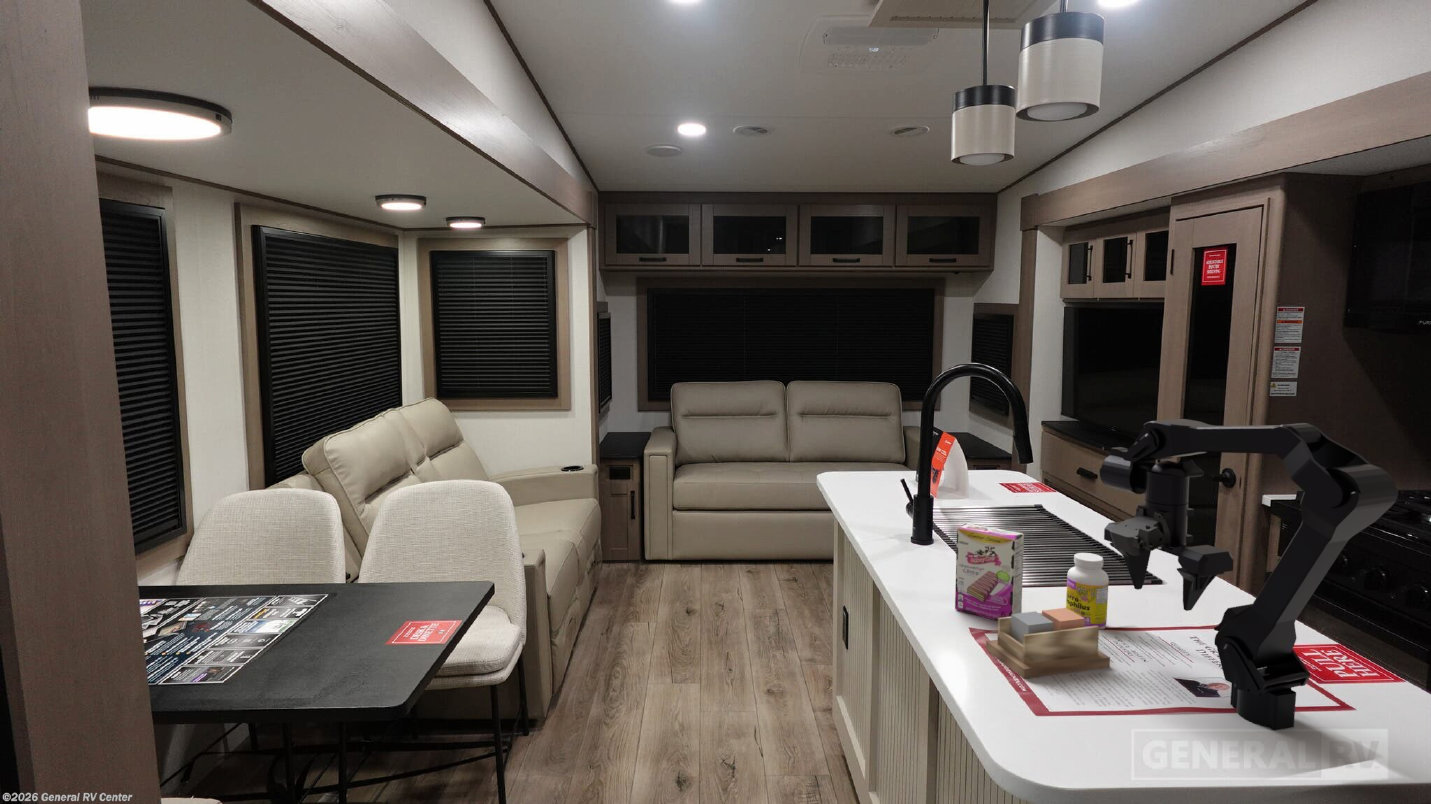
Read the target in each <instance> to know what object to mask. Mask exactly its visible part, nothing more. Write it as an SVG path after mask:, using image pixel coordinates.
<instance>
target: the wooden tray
mask: <svg viewBox="0 0 1431 804" xmlns="http://www.w3.org/2000/svg"><path fill="white" fill-rule="evenodd" d="M1038 613H1039V614H1041V615H1042V612H1038ZM1099 632H1100V630H1099V627H1098V626H1089V627H1081V628H1073V629H1065V630H1057V631H1049V632H1041V633H1033V634H1025V635H1023V645H1022V644H1021V643H1019V642H1018V641H1016V640H1015V639H1014V638H1012V637H1011V617H1002V618H998V621H997V640H998V645H999V646H1000V647H1002V648H1003V649H1004V650H1006V651H1007V652H1008V653H1010V654H1011V655H1012V656H1014V657H1015V658H1017V659H1018V660H1019V661H1021V662H1022V663H1023V664H1029V663H1037V662H1044V661H1051V660H1059V659H1066V658H1074V657H1081V656H1089V655H1096V654H1098V651H1099V635H1100V634H1099Z"/></svg>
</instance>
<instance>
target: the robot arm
mask: <svg viewBox="0 0 1431 804" xmlns="http://www.w3.org/2000/svg"><path fill="white" fill-rule="evenodd" d="M1206 453H1221V454H1223V453H1225V454H1226V453H1227V454H1228V453H1229V454H1258V455H1259V454H1261V455H1262V454H1263V455H1264V454H1266V455H1267V454H1268V455H1276V456H1277V457H1278V458H1279V459H1281V460H1282V462H1283V465H1284V466H1285V470H1286V471H1287V474H1288V475H1289V478H1290V479H1291V481H1293V483H1295V484H1296V485H1297V487H1299V488H1300V489H1301V490H1302V491H1303V494H1302V497H1301V500H1300V510H1301V511H1300V512H1301V519H1302V521H1301V523H1300V526H1299V527H1298V529H1297V530H1296V532H1295V534H1294V536H1293V537H1292V539H1291V541H1290V542H1289V543H1288V545H1287V547H1286V549H1285V550H1284V552H1283V553H1282V556H1281V557H1280V559H1278V562H1277V563H1276V565H1275V566H1274V569H1273V570H1272V571H1271V574H1270V575H1269V577H1268V578H1267V580H1266V581H1265V583H1264V584H1263V586H1262V588H1261V589H1260V591H1259V592H1258V594H1257V596H1256V598H1255V599H1254V600H1253V603H1249V604H1244V605H1243V604H1242V605H1236V606H1231V607H1227V609H1226V610H1225V612H1224V613H1223V615H1222V619H1221V621H1220V622H1219V624H1218V625H1216V626H1214V627H1213V630H1214V631H1216V632H1217V633H1216V634H1215V637H1214V645H1215V647H1216V649H1217V654H1218V657H1219V661H1220V665H1221V669H1222V672H1223V676H1224V677H1223V678H1224V680H1225V681H1227V682H1228V683H1230V684H1231V687H1230V690H1231V691H1230V701H1229V702H1230V706H1232V708H1234V709H1235V710H1236V713H1237V714H1238V715H1239V716H1240V717H1241V718H1243V719H1244V720H1246V721H1248V722H1249V723H1252V724H1254V725H1258V726H1260V727H1261V726H1262V727H1264V728H1268V729H1270V730H1272V731H1281V730H1286V729H1292V728H1294V726H1295V717H1296V716H1295V715H1296V701H1297V692H1296V691H1295V690H1292V688H1297V687H1304V686H1306V684H1307V683H1308V681H1309V679H1310V678H1311V676H1312V675H1311V672H1310V670H1309V669H1308V668H1307V667H1306V665H1305V664H1304V662H1303V661H1302V660H1301V659H1300V657H1299V655H1298V654H1297V653H1296V651H1295V650H1294V646H1295V643H1296V642H1297V631H1296V625H1295V623H1296V620H1297V619H1298V617H1299V616H1300V614H1301V613H1302V611H1303V610H1304V608H1305V606H1306V605H1307V604H1308V602H1309V600H1310V599H1311V598H1312V596H1313V595H1314V593H1315V592H1316V590H1317V589H1318V587H1319V585H1320V584H1321V582H1322V581H1323V579H1324V578H1325V576H1327V574H1328V572H1329V570H1331V567H1332V566H1333V564H1334V563H1335V561H1336V560H1337V558H1338V557H1339V555H1340V554H1341V552H1342V551H1343V549H1344V548H1345V546H1346V544H1347V543H1348V542H1349V540H1350V539H1352V538H1353V537H1354V536H1356V535H1357V534H1359V533H1360V532H1362V531H1364V530H1365V529H1366V528H1367V527H1369V526H1370V525H1372V524H1374V523H1375V522H1377V520H1378V519H1379V520H1380V518H1381V517H1382V516H1383V515H1384V514H1385V513H1386V512H1387V511H1389V509H1390V508H1392V506H1394V504H1395V503H1396V502H1397V499H1398V496H1399V488H1398V487H1397V486H1396V483H1395V480H1394V479H1393V477H1392V476H1391V475H1390V473H1389V472H1387V470H1385V469H1383V468H1382V467H1379V466H1376V465H1374V464H1371V462H1370V461H1368V459H1366V458H1365V457H1364V456H1362V455H1361V454H1360V453H1358V452H1356V451H1354V450H1352V449H1351V448H1349V447H1348V446H1347V447H1346V446H1345V445H1343V444H1341V443H1340V442H1338V441H1336V440H1333V438H1331V437H1329V436H1328V435H1326V433H1324V432H1323V431H1322V429H1320V428H1318V427H1317V426H1315V425H1313V424H1311V423H1305V422H1301V423H1300V422H1299V423H1289V424H1288V423H1287V424H1279V425H1278V424H1276V425H1275V424H1274V425H1271V424H1270V425H1266V424H1265V425H1259V424H1258V425H1213V424H1208V423H1205V422H1203V421H1199V420H1193V419H1188V418H1175V419H1174V418H1173V419H1161V420H1159V419H1158V420H1151V421H1149V420H1148V421H1147V422H1145V423H1144V424H1143V426H1142V428H1141V429H1140V432H1139V434H1138V436H1137V437H1136V439H1135V440H1134V441H1133V443H1132V444H1131V445H1130V447H1128V448H1126V447H1121V446H1118V447H1111V448H1110V455H1108V456H1106V457H1105V459H1103V462H1102V464H1101V467H1100V468H1099V478H1100V481H1101V482H1102V484H1104V485H1105V486H1106V487H1109V488H1112V489H1115V490H1119V491H1124V492H1128V493H1132V494H1136V495H1143V494H1144V501H1143V502H1144V504H1138V505H1137V507H1136V508H1135V515H1134V517H1130V518H1127V519H1124V520H1123V521H1112V522H1108V524H1107V525H1106V526H1105V527H1104V531H1103V540H1105V541H1108V542H1109V545H1110V546H1111V547H1112V548H1114V549H1115V550H1116V551H1118V553H1119V554H1121V555H1122V557H1123V559H1124V562H1125V565H1126V567H1127V570H1128V574H1129V575H1130V576H1129V577H1130V579H1131V583H1132V585H1133V588H1134V589H1135V590H1136V591H1137V590H1138V591H1139V590H1142V589H1143V586H1144V583H1145V580H1146V575H1147V571H1148V566H1149V563H1150V557H1151V554H1152V553H1151V552H1152V551H1155V550H1159V551H1161V552H1163V553H1167V554H1169V555H1173V556H1176V557H1177V562H1178V564H1179V566H1180V567H1177V568H1176V571H1177V572H1178V573H1179V575H1180V576H1181V577H1182V605H1183V611H1185V612H1188V611H1189V612H1190V611H1192V610H1193V609H1194V607H1195V606H1196V604H1197V602H1198V601H1199V599H1200V598H1201V596H1202V595H1203V593H1204V592H1205V591H1206V589H1207V587H1208V586H1209V585H1210V584H1211V583H1212V581H1213V580H1214V579H1215V578H1216V577H1217V576H1218V575H1224V574H1225V573H1227V572H1233V571H1234V556H1233V555H1232V554H1231V552H1229V551H1228V550H1225V549H1222V548H1218V547H1216V546H1212V545H1210V544H1205V545H1203V544H1202V545H1195V546H1188V545H1187V544H1190V543H1194V535H1192V534H1188V518H1189V517H1195V509H1194V508H1190V507H1189V493H1190V492H1189V491H1190V489H1189V488H1190V478H1196V477H1202V476H1204V471H1203V470H1202V469H1201V468H1200V467H1199V466H1197V465H1196V463H1194V461H1193V460H1192V459H1181V460H1179V461H1178V462H1177V461H1171V460H1169V459H1175V458H1177V457H1178V458H1179V457H1188V456H1194V455H1200V454H1206ZM1158 460H1159V462H1157V461H1158ZM1161 460H1162V461H1161Z"/></svg>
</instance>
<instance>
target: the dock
mask: <svg viewBox="0 0 1431 804" xmlns="http://www.w3.org/2000/svg"><path fill="white" fill-rule="evenodd" d="M985 651H986V652H988V653H989V654H991V655H992V656H993V657H995V659H997V660H999V661H1000V662H1001V663H1003V664H1004V665H1005V666H1007V667H1008V668H1009V669H1010V670H1012V671H1013V672H1014V673H1015V674H1017V675H1018V676H1019V677H1021V678H1022V679H1024V680H1027V679H1028V680H1029V679H1034V678H1041V677H1048V676H1057V675H1063V674H1069V673H1077V672H1085V671H1092V670H1098V669H1104V668H1107V669H1108V668H1110V665H1111V657H1110V656H1108V655H1107V654H1105V653H1104V652H1102V651H1100V650H1098V654H1096V655H1089V656H1081V657H1074V658H1066V659H1059V660H1051V661H1044V662H1037V663H1029V664H1023V663H1022V662H1021V661H1019V660H1018V659H1017V658H1015V657H1014V656H1012V655H1011V654H1010V653H1008V652H1007V651H1006V650H1004V649H1003V648H1002V647H1000V646H999V645H998V639H992V640H986V648H985Z"/></svg>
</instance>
